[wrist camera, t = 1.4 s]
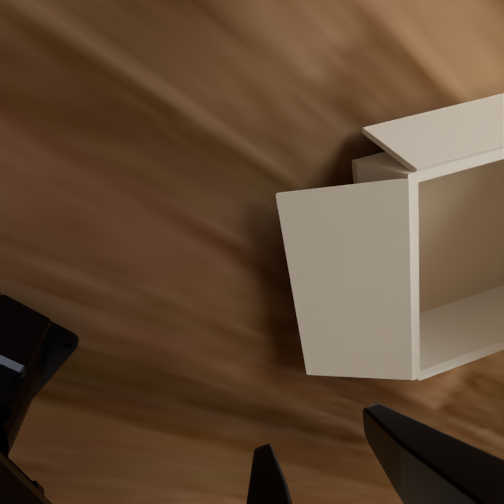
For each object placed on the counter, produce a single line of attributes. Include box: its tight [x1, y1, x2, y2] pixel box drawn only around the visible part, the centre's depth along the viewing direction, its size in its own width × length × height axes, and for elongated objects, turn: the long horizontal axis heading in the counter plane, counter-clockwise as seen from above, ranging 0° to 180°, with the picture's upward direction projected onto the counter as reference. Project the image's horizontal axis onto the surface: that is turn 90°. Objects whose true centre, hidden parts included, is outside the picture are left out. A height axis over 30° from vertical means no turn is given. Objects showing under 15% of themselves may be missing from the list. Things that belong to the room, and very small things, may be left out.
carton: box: [276, 93, 504, 381], centre depth 21 cm, size 17×15×5 cm
